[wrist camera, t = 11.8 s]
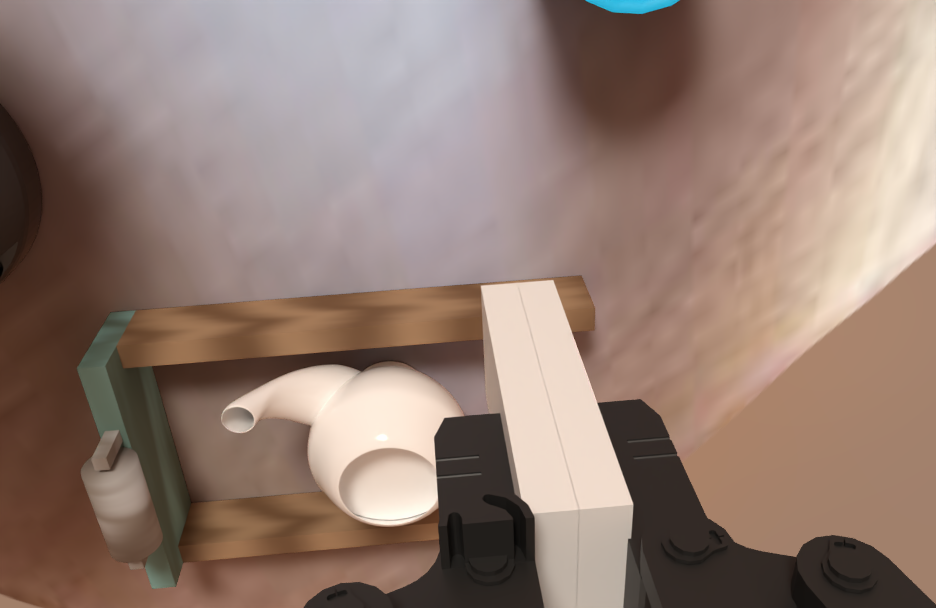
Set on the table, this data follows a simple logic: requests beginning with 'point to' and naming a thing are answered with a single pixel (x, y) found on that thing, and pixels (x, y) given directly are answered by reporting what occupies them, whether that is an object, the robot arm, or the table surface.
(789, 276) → the table surface
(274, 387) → the teapot
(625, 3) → the mug
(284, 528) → the bay
